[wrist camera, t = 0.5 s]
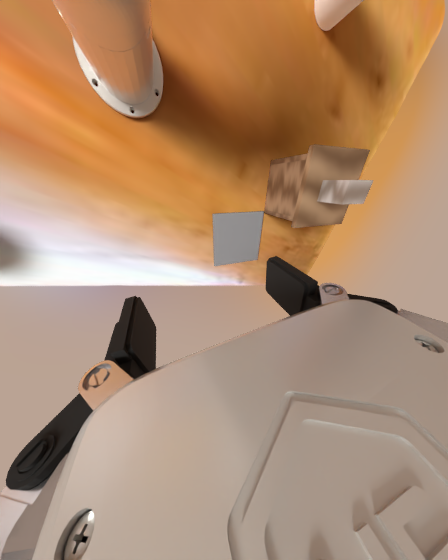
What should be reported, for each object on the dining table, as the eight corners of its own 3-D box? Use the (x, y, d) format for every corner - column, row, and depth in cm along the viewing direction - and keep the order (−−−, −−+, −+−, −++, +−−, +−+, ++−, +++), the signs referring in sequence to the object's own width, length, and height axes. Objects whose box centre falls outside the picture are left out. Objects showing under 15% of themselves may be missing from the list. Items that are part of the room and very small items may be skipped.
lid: (309, 145, 30) (345, 137, 24) (364, 150, 34) (405, 144, 28) (291, 226, 38) (315, 235, 32) (337, 222, 42) (365, 229, 36)
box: (271, 160, 42) (312, 152, 31) (309, 162, 46) (358, 156, 34) (264, 212, 49) (295, 222, 38) (298, 211, 52) (335, 219, 41)
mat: (212, 213, 44) (213, 214, 43) (262, 211, 48) (263, 211, 48) (214, 265, 52) (214, 266, 52) (256, 259, 57) (257, 259, 56)
